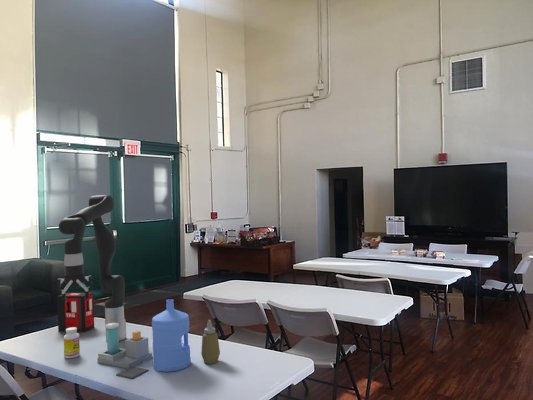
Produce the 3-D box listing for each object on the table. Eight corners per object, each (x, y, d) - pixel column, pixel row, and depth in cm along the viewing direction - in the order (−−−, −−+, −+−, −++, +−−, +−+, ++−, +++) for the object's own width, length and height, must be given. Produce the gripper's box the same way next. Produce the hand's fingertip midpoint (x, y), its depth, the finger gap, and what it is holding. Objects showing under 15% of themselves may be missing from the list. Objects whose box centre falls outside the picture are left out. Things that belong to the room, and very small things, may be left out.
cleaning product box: (94, 327, 249) (93, 292, 249) (85, 332, 240) (84, 296, 240) (68, 327, 252) (66, 292, 252) (58, 331, 243) (57, 296, 243)
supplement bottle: (73, 359, 198) (72, 331, 198) (61, 358, 199) (60, 330, 199) (82, 354, 204) (81, 326, 204) (70, 353, 206) (69, 326, 206)
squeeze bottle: (223, 359, 191) (221, 318, 191) (215, 366, 183) (213, 323, 183) (206, 357, 193) (205, 317, 193) (198, 364, 186) (196, 322, 186)
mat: (132, 367, 185) (132, 366, 185) (148, 370, 180) (148, 369, 180) (116, 375, 177) (116, 374, 177) (132, 379, 173) (132, 377, 173)
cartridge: (113, 353, 198) (112, 322, 198) (122, 354, 195) (121, 323, 195) (104, 357, 193) (103, 325, 193) (113, 358, 190) (111, 326, 191)
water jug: (158, 375, 175) (155, 306, 175) (149, 363, 189) (147, 299, 189) (195, 367, 182) (193, 300, 182) (184, 356, 196) (182, 294, 196)
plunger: (136, 341, 197) (136, 330, 197) (142, 342, 196) (142, 331, 196) (130, 344, 194) (130, 333, 194) (136, 345, 192) (136, 333, 192)
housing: (121, 352, 205) (120, 333, 205) (152, 357, 196) (151, 337, 196) (97, 362, 192) (96, 342, 193) (129, 368, 184) (128, 347, 184)
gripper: (92, 261, 195) (93, 297, 195) (57, 264, 190) (58, 301, 190) (91, 263, 188) (92, 300, 188) (54, 266, 183) (56, 304, 183)
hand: (75, 300), depth 189 cm, fingers open, 8 cm apart
